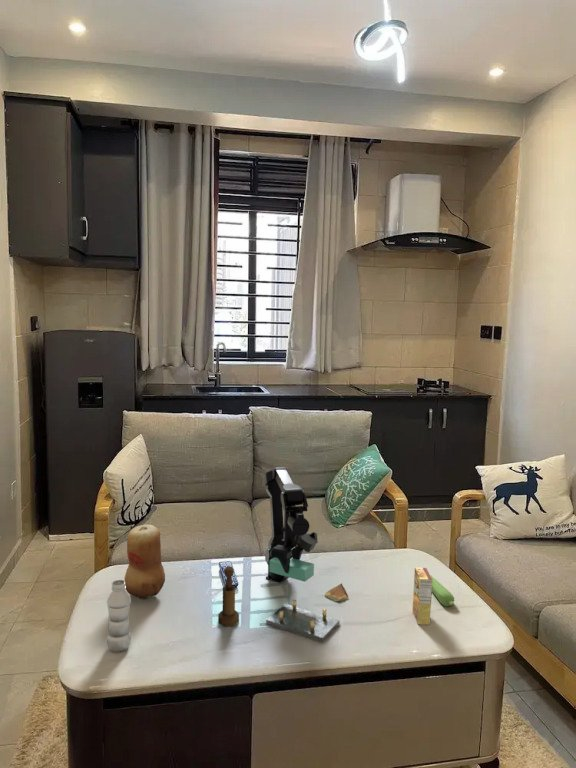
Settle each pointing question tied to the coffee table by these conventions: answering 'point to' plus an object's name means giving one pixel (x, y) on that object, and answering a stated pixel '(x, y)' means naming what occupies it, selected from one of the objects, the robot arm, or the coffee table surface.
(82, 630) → the coffee table surface
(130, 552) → the butternut squash
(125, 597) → the plastic bottle
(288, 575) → the green rectangular block
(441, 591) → the green cucumber
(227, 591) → the brown wooden tall piece
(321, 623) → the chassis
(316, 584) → the coffee table surface
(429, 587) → the candy box
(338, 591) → the shard
